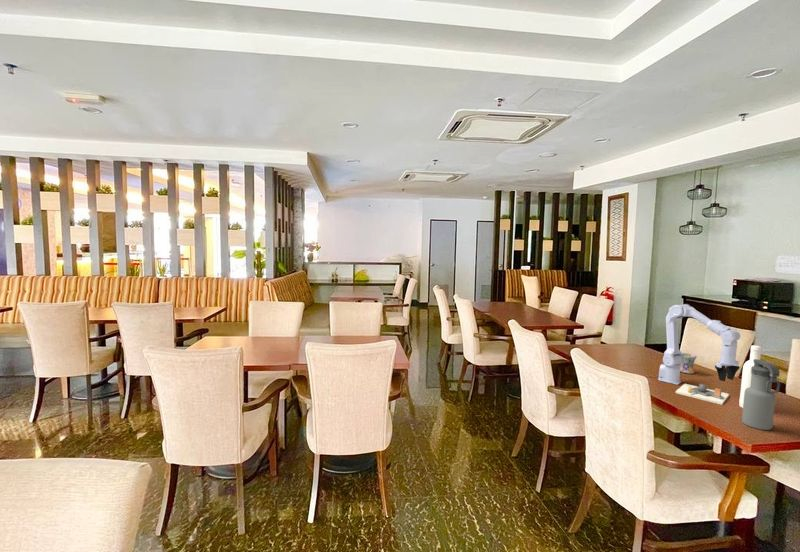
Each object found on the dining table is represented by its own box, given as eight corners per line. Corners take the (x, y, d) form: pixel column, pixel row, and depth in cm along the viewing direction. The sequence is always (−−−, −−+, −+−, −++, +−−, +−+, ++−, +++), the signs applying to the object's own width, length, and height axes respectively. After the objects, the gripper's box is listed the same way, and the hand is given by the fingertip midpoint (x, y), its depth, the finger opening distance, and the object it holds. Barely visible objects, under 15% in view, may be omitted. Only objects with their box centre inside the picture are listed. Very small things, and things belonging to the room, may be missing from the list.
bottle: (763, 413, 183) (770, 349, 181) (741, 409, 187) (747, 346, 184) (758, 406, 190) (764, 345, 187) (737, 403, 194) (743, 343, 191)
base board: (675, 393, 206) (676, 383, 205) (684, 385, 218) (685, 376, 217) (721, 404, 191) (722, 394, 191) (729, 395, 203) (729, 386, 203)
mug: (697, 375, 235) (699, 358, 234) (679, 373, 238) (681, 356, 237) (689, 369, 247) (691, 352, 246) (672, 367, 249) (674, 351, 249)
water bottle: (779, 430, 165) (786, 365, 163) (760, 432, 164) (767, 365, 161) (754, 419, 175) (760, 358, 173) (735, 421, 174) (741, 358, 171)
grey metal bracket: (689, 390, 207) (689, 382, 206) (699, 388, 210) (699, 380, 209) (716, 399, 195) (717, 391, 194) (726, 397, 198) (727, 389, 197)
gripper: (728, 356, 192) (726, 384, 193) (746, 354, 197) (744, 381, 199) (712, 353, 198) (710, 379, 200) (730, 350, 204) (728, 376, 205)
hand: (726, 379), depth 199 cm, fingers open, 6 cm apart
